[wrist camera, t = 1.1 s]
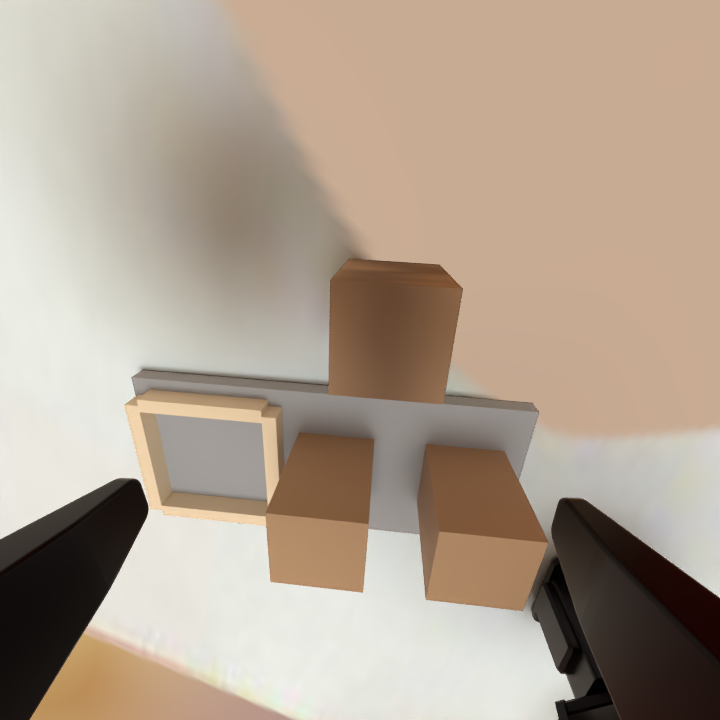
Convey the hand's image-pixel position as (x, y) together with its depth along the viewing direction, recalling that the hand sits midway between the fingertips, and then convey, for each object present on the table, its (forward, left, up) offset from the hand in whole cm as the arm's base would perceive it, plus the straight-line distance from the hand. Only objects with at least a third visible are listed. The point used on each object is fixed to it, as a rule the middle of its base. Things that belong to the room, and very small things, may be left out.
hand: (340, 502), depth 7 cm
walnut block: (-1, -1, -12) cm, 12 cm away
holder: (+2, +9, -12) cm, 15 cm away
